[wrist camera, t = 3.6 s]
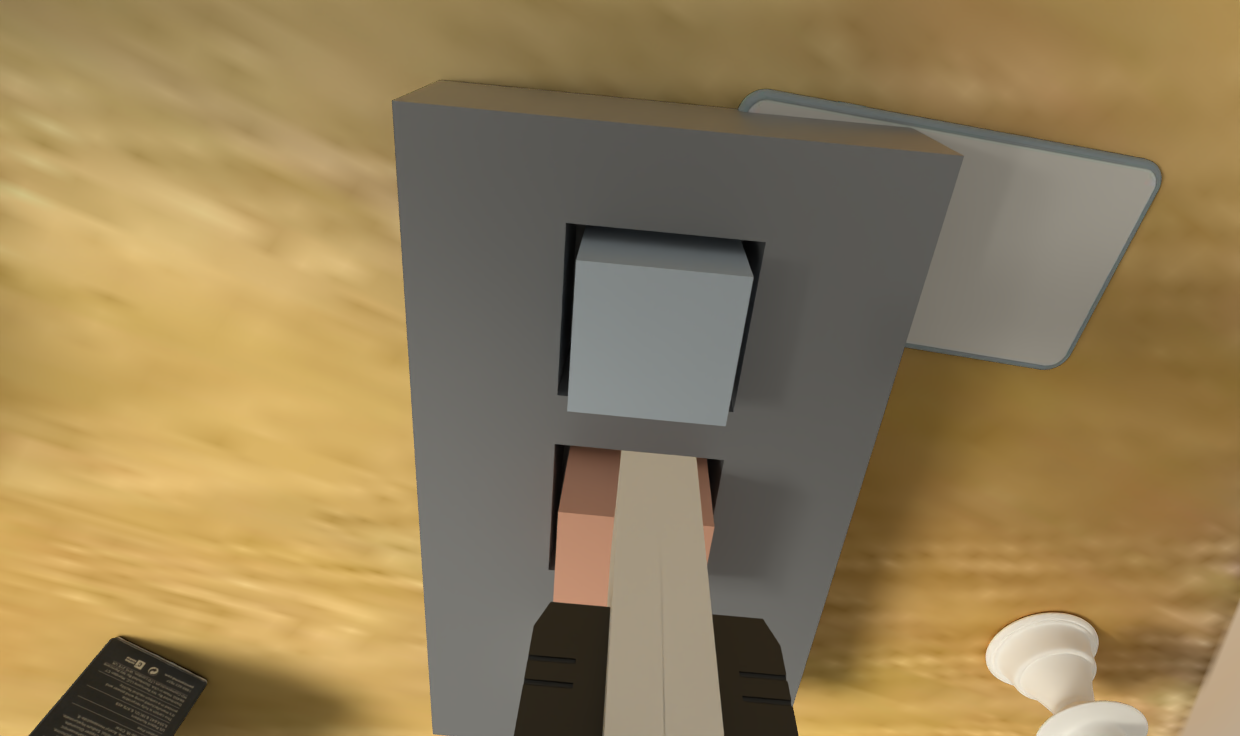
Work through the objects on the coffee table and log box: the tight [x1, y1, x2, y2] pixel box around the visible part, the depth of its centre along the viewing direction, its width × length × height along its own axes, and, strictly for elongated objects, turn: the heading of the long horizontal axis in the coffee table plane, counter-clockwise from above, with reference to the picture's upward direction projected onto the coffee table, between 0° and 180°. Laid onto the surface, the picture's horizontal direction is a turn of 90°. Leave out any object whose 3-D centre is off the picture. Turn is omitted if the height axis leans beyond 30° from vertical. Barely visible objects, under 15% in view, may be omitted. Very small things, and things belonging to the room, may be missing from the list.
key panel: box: [392, 80, 964, 736], centre depth 28 cm, size 16×28×5 cm, turn 175°
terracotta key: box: [553, 445, 714, 607], centre depth 25 cm, size 5×5×4 cm
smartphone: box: [738, 89, 1162, 370], centre depth 26 cm, size 8×1×15 cm
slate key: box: [567, 225, 754, 426], centre depth 23 cm, size 5×5×4 cm
